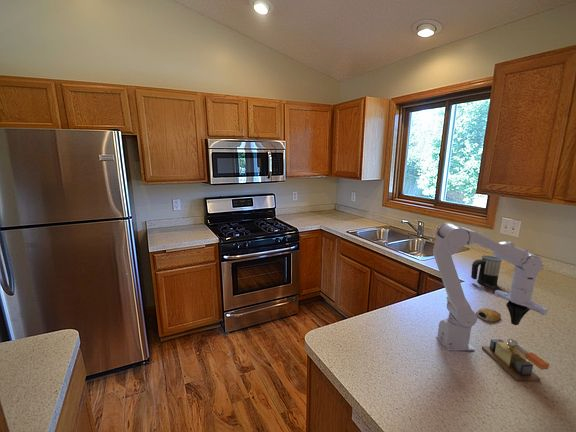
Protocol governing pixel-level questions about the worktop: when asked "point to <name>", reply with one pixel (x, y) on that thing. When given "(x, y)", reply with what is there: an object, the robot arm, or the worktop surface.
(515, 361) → the valve
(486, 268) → the milk frother
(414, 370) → the worktop surface
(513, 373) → the plank
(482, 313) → the pastry
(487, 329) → the worktop surface
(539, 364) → the lever
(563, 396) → the worktop surface
